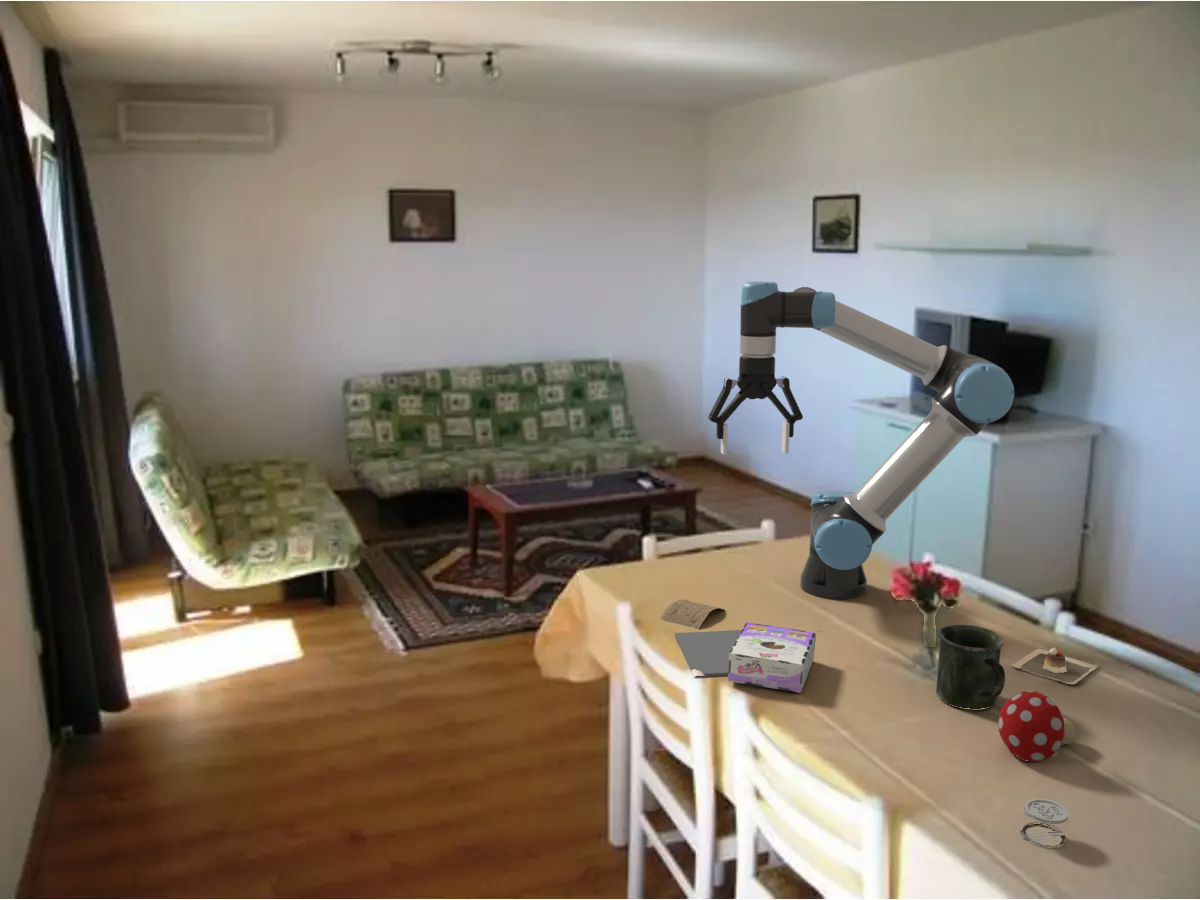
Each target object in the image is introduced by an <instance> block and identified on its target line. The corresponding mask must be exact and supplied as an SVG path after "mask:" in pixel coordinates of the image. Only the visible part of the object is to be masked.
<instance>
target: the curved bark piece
mask: <svg viewBox="0 0 1200 900" xmlns="http://www.w3.org/2000/svg"><path fill="white" fill-rule="evenodd" d="M714 610H720V611H725V609H724V608H721V607H718V606H717V607H716V606H711V605H709V604H708V605H707V604H704V603H699V602H696V601H695V602H694V601H690V600H688V599H678V600H675V601H673V602H671V603H669V605H668V606H667V608H666V609H665V610H664V612H663V613H662V616H661V617H660V620H662V621H663V622H667V623H672V624H675V625H676V624H677V625H681V626H685V627H689V628H693V629H697V630H699V629H700V627H701V626H702V624H703V623H704V621H705V620H706V618H707V617H708V615H709V613H711V612H712V611H714Z"/></svg>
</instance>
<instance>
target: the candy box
mask: <svg viewBox="0 0 1200 900" xmlns="http://www.w3.org/2000/svg"><path fill="white" fill-rule="evenodd" d="M741 630H742V631H741V633H740V635H739V637H738V638H737V640H736V642H735V644H734V646H733V648H732V649H731V651H730V653H729V671H728V675H727V681H728V682H730V683H731V682H733V683H738V684H745V685H751V686H757V687H763V688H768V689H769V688H770V689H775V690H776V689H777V690H781V691H787V692H793V693H800V694H801V693H802V691H803V688H804V685H805V682H806V681H807V678H808V676H809V673H810V669H811V667H812V664H813V662H814V660H815V659H814V658H815V649H816V638H817V633H816V632H814V631H808V630H802V629H794V628H787V627H782V626H773V625H766V624H761V623H760V624H759V623H753V622H750V621H749V622H748V621H746V622H745V624H744V625H743V628H742V629H741Z"/></svg>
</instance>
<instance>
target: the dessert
mask: <svg viewBox="0 0 1200 900" xmlns="http://www.w3.org/2000/svg"><path fill="white" fill-rule="evenodd" d="M1048 651H1049V653H1048V654H1047V656H1045V659H1044V661H1043V663H1045V664H1046V665H1049V666H1051V667H1057V668H1061V667H1065V666H1066V665H1067V662H1066V660H1065V656H1066V655H1065V654H1063V651H1062V650H1057V649H1056V647H1053V648H1052V647H1051V648H1050V649H1049V650H1048Z"/></svg>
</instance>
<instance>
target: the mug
mask: <svg viewBox="0 0 1200 900" xmlns="http://www.w3.org/2000/svg"><path fill="white" fill-rule="evenodd" d="M937 635H938V638H939V650H938V651H939V652H938V664H937V665H938V666H937V676H936V677H937V679H936V695H937V696H938V698H939V697H940V698H941V699H942V700H943V701H945V702H947V703H948V704H947V703H946V704H947V705H949V704H951V705H954V706H957V707H962V708H970V709H981V708H987V707H990V706H992V705H993V706H994V705H995V704H996V703H995V702H997V697H999V696H1001V694H1002V692H1003V689H1004V687H1005V683H1006V672H1005V669H1004V667H1003V665H1001V663H1000V661H1001V660H1000V658H1001V650H1002V647H1003V645H1004V644H1005V640H1004V638H1003V637H1002V636H1001V635H1000V634H999V633H997V632H995V631H994V630H991V629H989V628H985V627H981V626H979V625H971V624H950V625H946V626H943V627H942V628H940V629H939V630H938V631H937ZM940 698H939V699H940ZM941 699H940V700H941ZM942 700H941V701H942ZM943 701H942V702H943ZM945 702H944V703H945ZM951 705H950V706H951ZM993 706H992V707H993Z"/></svg>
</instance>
